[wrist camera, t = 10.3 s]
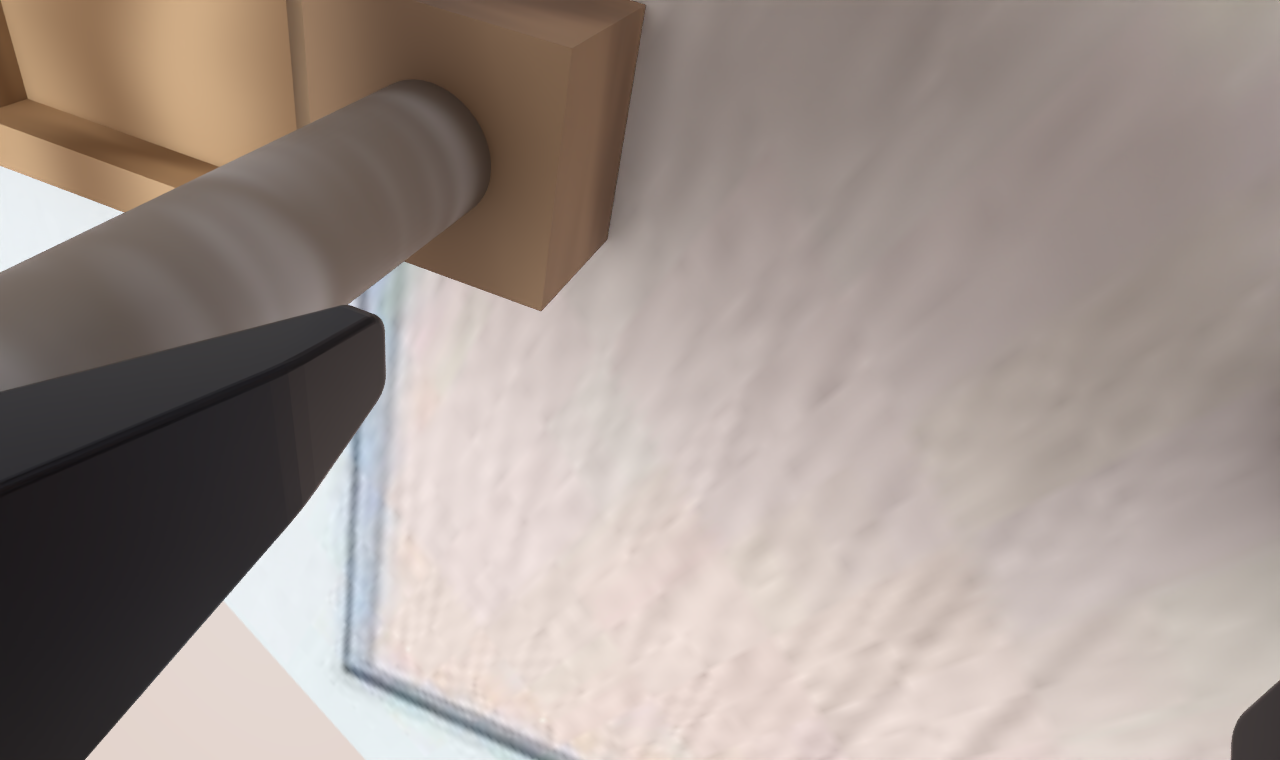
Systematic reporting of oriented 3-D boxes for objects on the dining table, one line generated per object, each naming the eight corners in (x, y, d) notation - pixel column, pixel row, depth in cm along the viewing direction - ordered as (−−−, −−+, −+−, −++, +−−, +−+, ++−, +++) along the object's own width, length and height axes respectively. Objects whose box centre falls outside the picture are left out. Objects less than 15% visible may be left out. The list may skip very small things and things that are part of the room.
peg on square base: (646, 4, 19) (67, 346, 8) (607, 239, 23) (176, 707, 11) (410, -64, 20) (-405, 149, 9) (409, 171, 24) (-166, 537, 13)
